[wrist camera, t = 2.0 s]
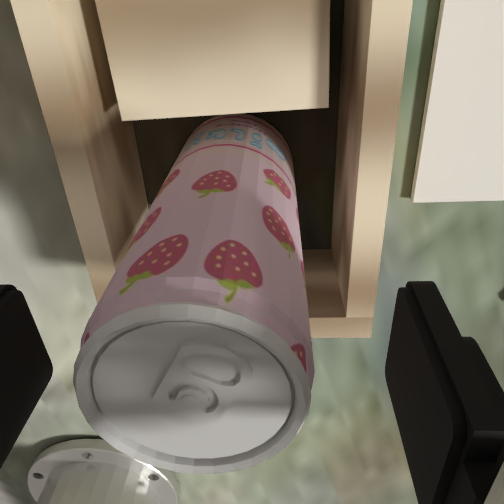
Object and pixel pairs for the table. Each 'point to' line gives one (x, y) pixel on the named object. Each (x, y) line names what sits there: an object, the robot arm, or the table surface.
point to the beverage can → (206, 312)
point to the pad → (464, 107)
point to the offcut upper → (216, 56)
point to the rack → (129, 168)
